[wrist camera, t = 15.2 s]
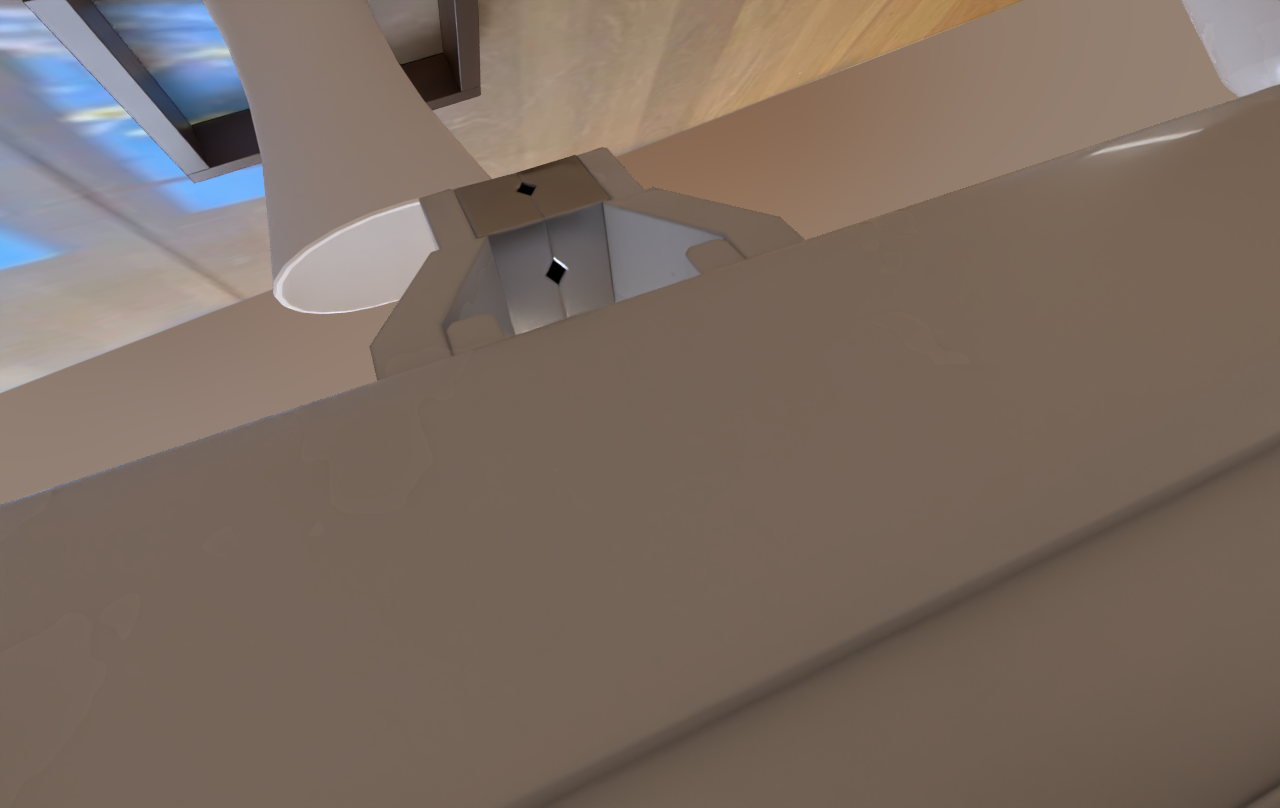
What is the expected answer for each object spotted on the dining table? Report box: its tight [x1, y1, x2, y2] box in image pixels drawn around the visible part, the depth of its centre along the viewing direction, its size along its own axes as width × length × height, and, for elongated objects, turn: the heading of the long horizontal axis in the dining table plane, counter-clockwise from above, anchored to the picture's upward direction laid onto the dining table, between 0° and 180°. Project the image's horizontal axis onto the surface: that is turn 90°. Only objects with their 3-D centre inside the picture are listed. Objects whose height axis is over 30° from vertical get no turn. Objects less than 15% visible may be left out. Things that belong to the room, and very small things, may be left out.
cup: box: [202, 0, 491, 314], centre depth 30 cm, size 10×10×14 cm
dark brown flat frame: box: [22, 0, 481, 183], centre depth 32 cm, size 16×14×2 cm
